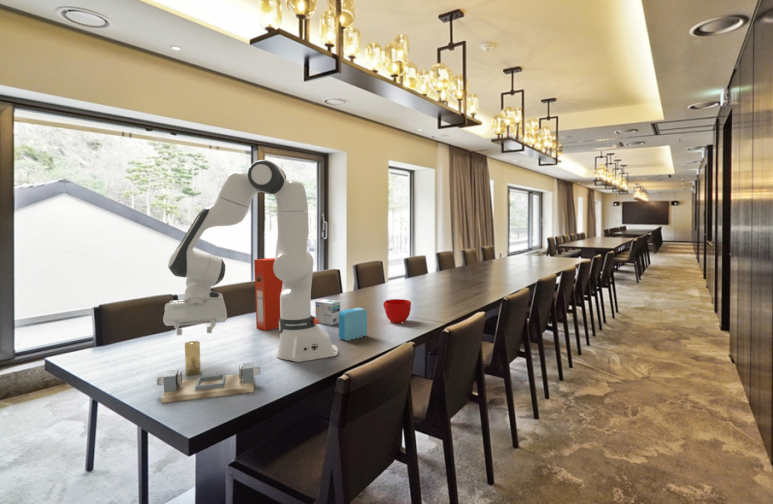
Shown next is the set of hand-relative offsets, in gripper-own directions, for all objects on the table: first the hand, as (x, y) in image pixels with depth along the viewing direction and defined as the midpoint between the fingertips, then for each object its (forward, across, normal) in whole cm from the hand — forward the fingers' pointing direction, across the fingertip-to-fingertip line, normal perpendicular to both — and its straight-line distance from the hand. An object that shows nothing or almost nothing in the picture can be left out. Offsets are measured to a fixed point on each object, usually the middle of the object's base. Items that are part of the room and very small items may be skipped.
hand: (194, 333), depth 142 cm
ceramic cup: (-20, +85, +36) cm, 95 cm away
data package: (-4, +59, +20) cm, 63 cm away
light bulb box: (-25, +53, +41) cm, 72 cm away
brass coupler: (+13, 0, +3) cm, 13 cm away
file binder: (-26, +29, +42) cm, 57 cm away
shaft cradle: (+24, +7, -8) cm, 26 cm away
